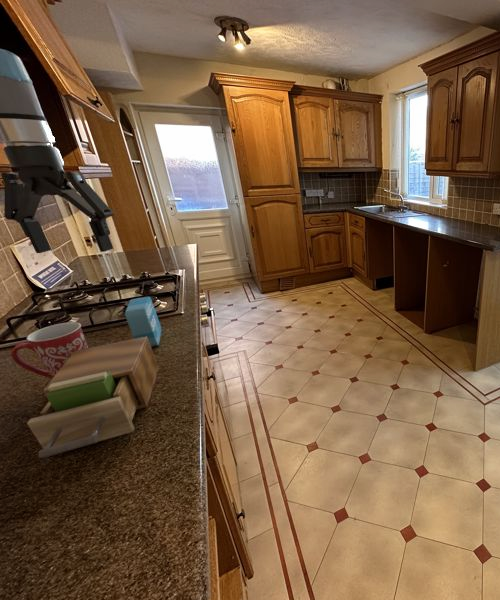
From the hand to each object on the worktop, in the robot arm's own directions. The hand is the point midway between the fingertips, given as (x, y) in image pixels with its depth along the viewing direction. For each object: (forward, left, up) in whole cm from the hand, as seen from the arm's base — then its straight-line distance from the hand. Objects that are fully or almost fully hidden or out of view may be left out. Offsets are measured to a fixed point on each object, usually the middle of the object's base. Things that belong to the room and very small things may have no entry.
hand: (75, 251), depth 72 cm
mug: (-9, -6, -31) cm, 33 cm away
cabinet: (+7, -12, -31) cm, 34 cm away
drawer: (+12, -23, -30) cm, 39 cm away
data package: (-2, +13, -31) cm, 33 cm away
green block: (+12, -22, -29) cm, 38 cm away
